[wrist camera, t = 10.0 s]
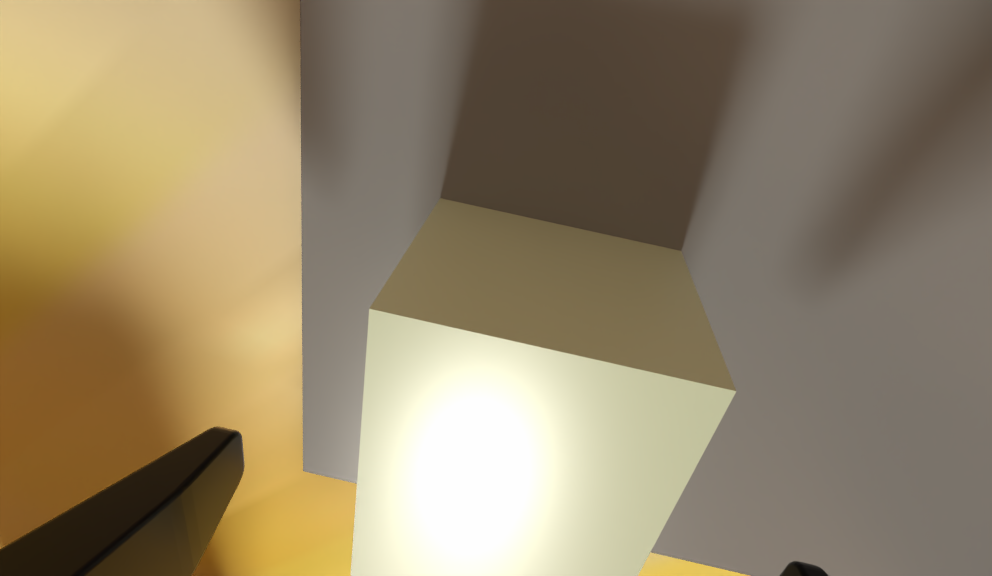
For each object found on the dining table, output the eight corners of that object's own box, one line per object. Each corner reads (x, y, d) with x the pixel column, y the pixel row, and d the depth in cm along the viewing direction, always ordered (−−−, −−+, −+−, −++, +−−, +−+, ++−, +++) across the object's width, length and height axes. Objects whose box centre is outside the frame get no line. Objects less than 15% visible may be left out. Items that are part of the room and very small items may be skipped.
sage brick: (440, 198, 10) (369, 309, 7) (680, 250, 10) (736, 390, 7) (406, 455, 14) (347, 614, 10) (583, 496, 14) (586, 672, 10)
